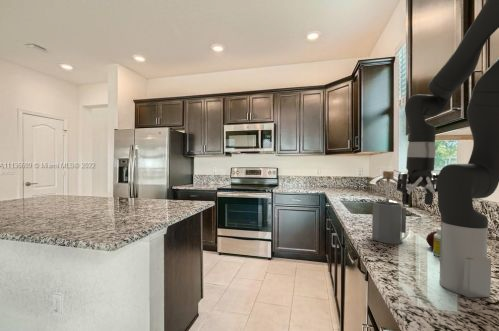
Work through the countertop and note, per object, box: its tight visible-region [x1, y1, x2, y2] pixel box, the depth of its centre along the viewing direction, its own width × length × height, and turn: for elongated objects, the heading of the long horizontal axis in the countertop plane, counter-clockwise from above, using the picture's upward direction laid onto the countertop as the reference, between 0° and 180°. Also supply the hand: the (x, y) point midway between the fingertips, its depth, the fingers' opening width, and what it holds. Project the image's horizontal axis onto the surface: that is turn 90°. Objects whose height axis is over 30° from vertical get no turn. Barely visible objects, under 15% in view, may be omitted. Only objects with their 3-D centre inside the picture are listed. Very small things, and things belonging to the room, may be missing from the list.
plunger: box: [382, 170, 395, 205], centre depth 104 cm, size 8×8×18 cm
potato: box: [426, 230, 437, 249], centre depth 94 cm, size 7×8×7 cm
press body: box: [371, 200, 407, 245], centre depth 104 cm, size 11×14×16 cm
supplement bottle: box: [432, 227, 441, 258], centre depth 87 cm, size 5×5×10 cm
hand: (417, 204), depth 80 cm, fingers open, 8 cm apart
